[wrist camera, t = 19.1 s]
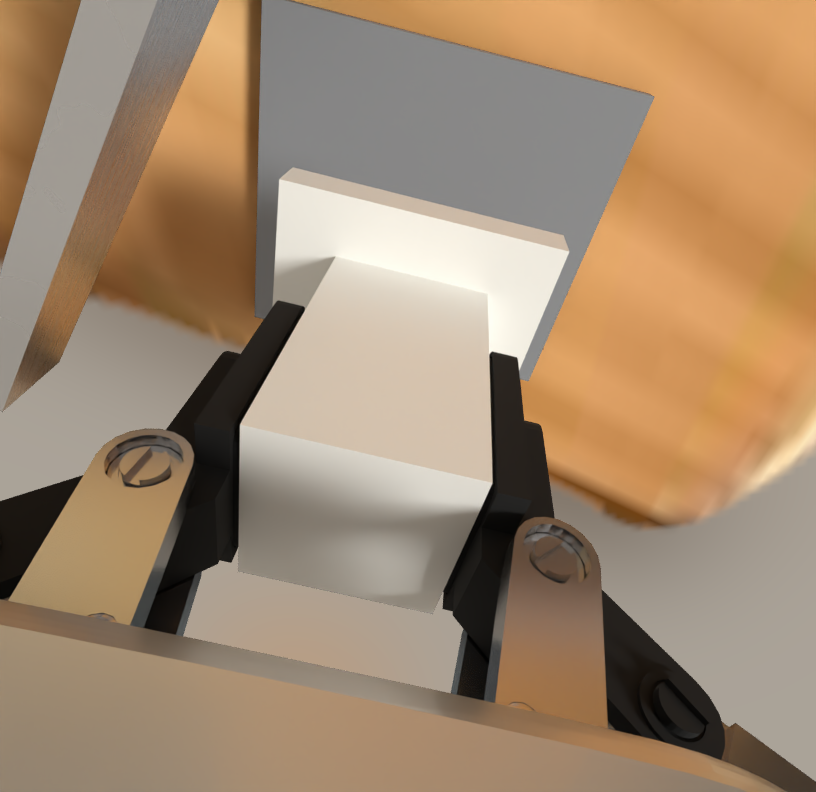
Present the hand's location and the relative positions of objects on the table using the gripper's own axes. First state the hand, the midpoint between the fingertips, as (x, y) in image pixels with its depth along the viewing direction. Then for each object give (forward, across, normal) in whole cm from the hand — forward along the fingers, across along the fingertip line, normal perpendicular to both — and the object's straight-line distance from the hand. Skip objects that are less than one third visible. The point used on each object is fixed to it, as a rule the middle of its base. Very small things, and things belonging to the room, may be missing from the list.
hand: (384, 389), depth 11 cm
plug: (+6, 0, 0) cm, 6 cm away
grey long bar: (+6, +9, -1) cm, 11 cm away
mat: (+10, 0, 0) cm, 10 cm away
